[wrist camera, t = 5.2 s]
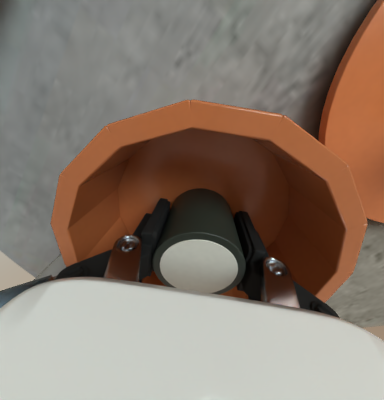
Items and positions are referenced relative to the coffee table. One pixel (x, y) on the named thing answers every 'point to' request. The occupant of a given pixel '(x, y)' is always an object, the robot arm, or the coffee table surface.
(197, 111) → the bowl
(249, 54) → the coffee table surface
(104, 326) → the robot arm
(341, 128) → the lid
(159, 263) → the sushi
